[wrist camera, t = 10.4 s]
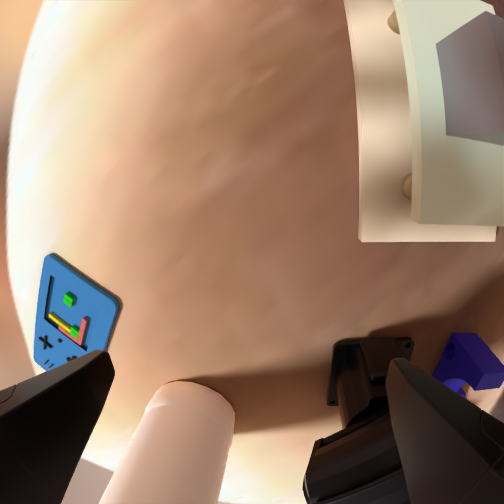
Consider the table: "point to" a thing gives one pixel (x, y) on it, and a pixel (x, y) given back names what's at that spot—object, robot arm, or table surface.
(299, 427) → the table surface
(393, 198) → the plate
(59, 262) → the handheld gaming device
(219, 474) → the bottle
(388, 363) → the robot arm
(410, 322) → the table surface
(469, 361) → the cable clip
